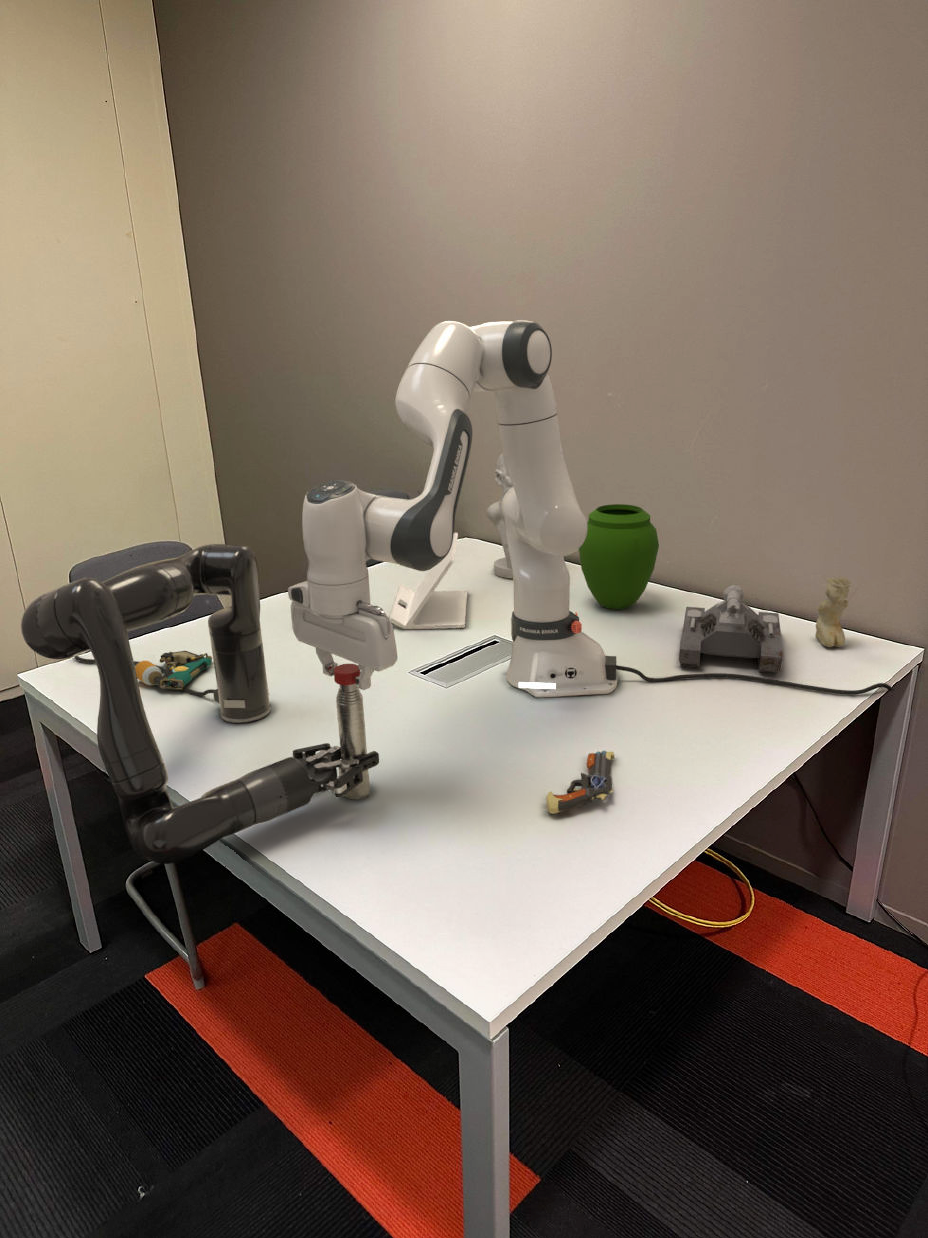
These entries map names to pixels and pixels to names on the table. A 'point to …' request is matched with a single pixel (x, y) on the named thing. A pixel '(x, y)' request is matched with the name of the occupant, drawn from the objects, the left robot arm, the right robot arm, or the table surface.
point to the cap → (346, 674)
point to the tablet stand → (431, 601)
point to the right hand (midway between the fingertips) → (346, 681)
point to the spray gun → (173, 669)
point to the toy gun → (586, 784)
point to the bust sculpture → (501, 520)
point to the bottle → (352, 733)
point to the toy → (732, 633)
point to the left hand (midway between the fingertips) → (368, 751)
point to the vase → (618, 554)
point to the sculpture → (832, 613)
